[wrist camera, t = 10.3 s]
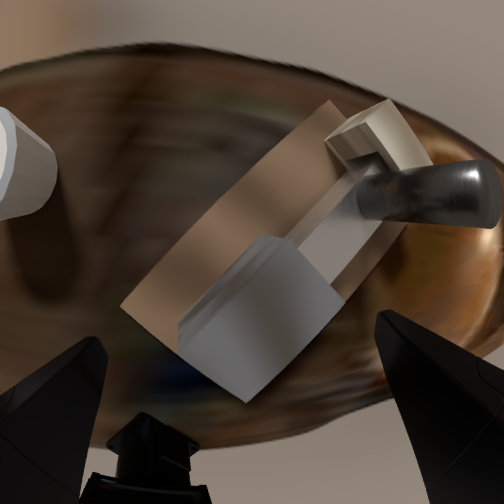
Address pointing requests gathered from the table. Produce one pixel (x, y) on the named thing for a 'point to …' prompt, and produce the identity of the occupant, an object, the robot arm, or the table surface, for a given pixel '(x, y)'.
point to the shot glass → (23, 168)
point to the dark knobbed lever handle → (394, 206)
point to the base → (268, 254)
